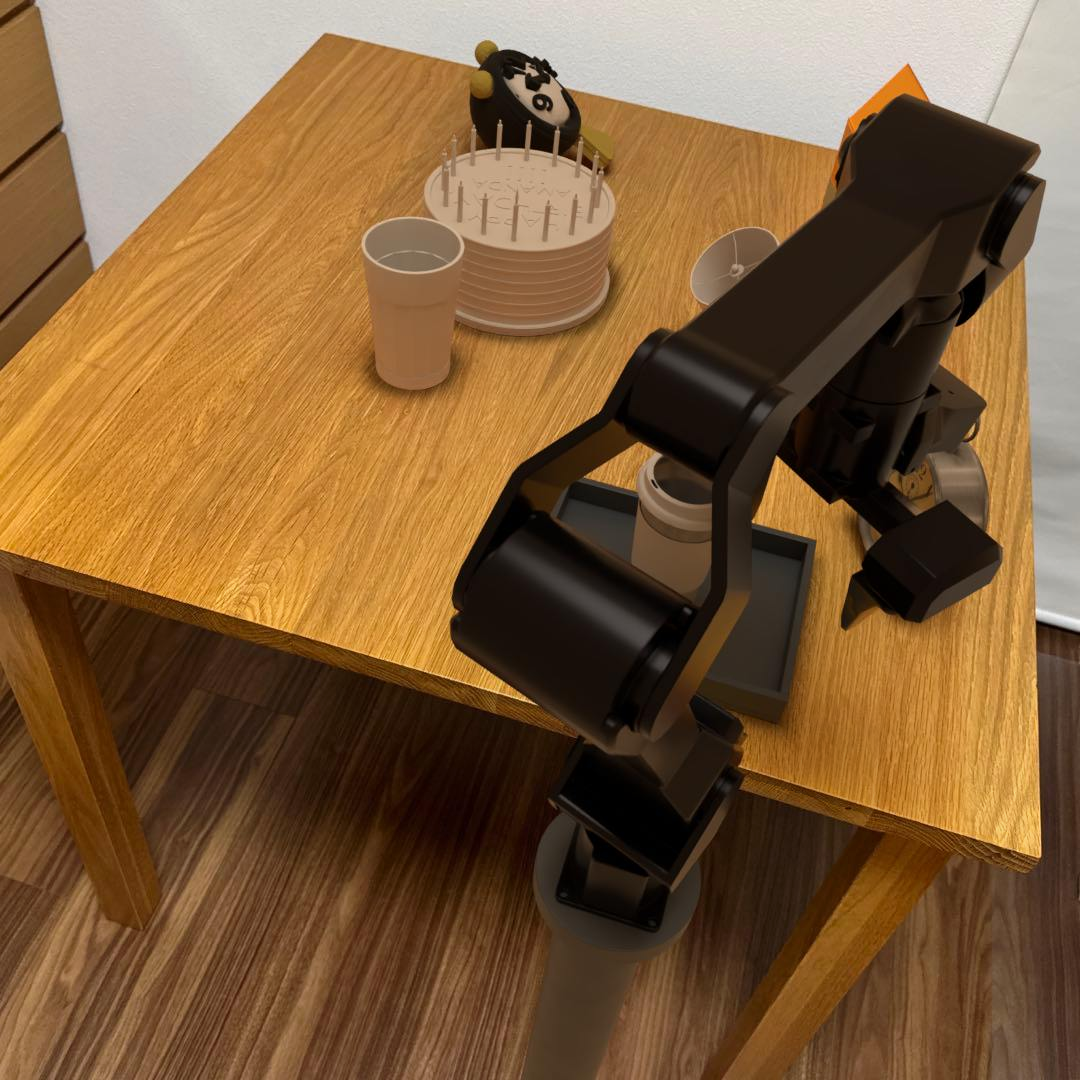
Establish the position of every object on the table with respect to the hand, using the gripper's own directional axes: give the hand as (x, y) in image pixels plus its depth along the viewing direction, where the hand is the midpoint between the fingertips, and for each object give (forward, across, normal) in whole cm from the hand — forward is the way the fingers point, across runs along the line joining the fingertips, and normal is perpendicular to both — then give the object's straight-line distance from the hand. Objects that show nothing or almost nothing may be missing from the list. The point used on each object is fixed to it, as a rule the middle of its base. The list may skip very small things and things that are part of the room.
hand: (795, 571), depth 66 cm
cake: (+14, +48, -12) cm, 51 cm away
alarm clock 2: (+14, +4, -18) cm, 23 cm away
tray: (+13, +10, 0) cm, 16 cm away
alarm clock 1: (+15, +66, -25) cm, 72 cm away
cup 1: (+14, +41, +3) cm, 43 cm away
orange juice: (+15, +33, -42) cm, 55 cm away
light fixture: (+14, +24, -24) cm, 37 cm away
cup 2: (+13, +10, 0) cm, 16 cm away
